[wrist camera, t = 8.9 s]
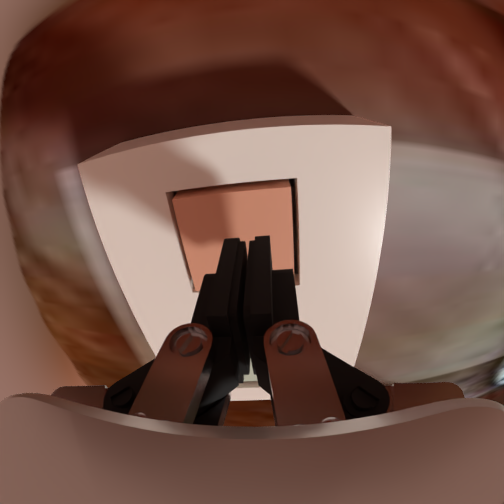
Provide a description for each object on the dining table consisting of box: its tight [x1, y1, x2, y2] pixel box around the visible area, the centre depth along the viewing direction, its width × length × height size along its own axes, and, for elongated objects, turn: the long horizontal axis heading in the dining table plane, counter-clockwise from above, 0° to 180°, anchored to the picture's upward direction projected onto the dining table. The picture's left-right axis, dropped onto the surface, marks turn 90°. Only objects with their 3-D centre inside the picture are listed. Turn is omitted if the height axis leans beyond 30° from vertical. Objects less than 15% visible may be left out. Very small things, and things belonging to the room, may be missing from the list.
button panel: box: [77, 115, 391, 401], centre depth 17 cm, size 14×20×5 cm
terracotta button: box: [172, 179, 294, 291], centre depth 14 cm, size 5×5×3 cm
